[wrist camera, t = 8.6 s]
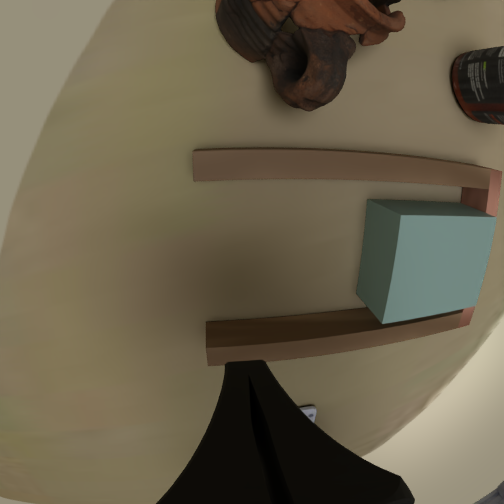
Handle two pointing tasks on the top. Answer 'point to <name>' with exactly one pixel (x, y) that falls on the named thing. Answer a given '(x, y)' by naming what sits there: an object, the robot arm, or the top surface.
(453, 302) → the block
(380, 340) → the guide channel
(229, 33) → the pottery mug
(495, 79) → the supplement bottle
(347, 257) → the top surface
